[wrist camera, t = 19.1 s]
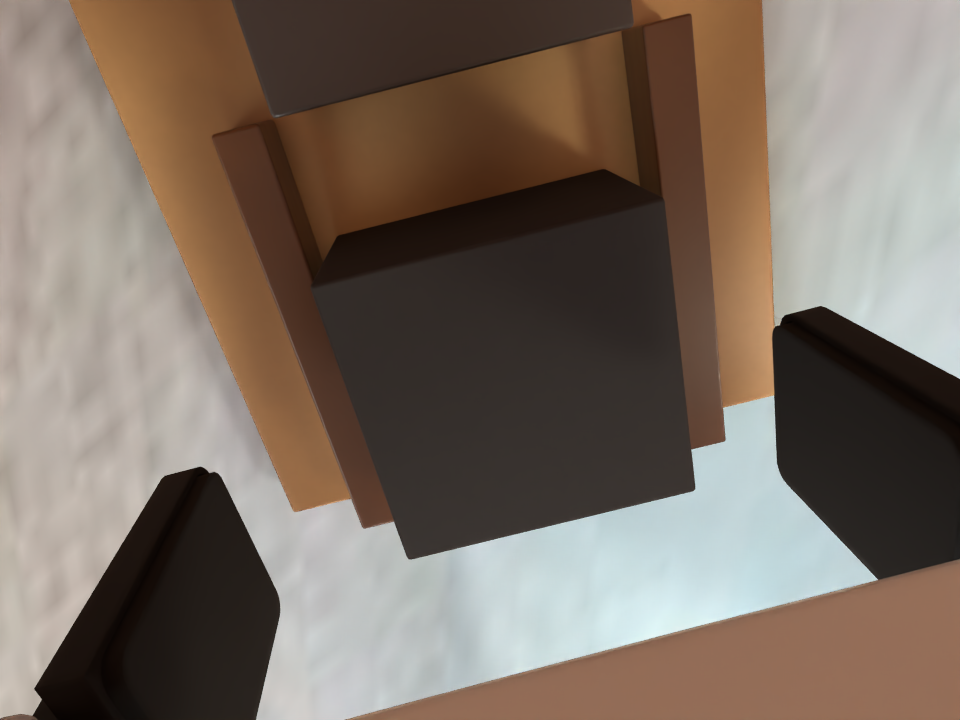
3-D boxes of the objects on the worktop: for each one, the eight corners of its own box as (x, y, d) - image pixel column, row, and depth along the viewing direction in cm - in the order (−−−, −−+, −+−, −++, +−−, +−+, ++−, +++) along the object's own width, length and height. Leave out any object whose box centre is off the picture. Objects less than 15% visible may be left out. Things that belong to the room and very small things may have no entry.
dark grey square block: (410, 462, 18) (407, 562, 14) (335, 235, 15) (308, 286, 11) (639, 405, 18) (696, 491, 14) (605, 167, 15) (666, 196, 11)
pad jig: (300, 488, 19) (270, 592, 15) (-66, -371, 11) (-319, -605, 7) (757, 376, 19) (843, 453, 15) (707, -580, 11) (860, -930, 7)
